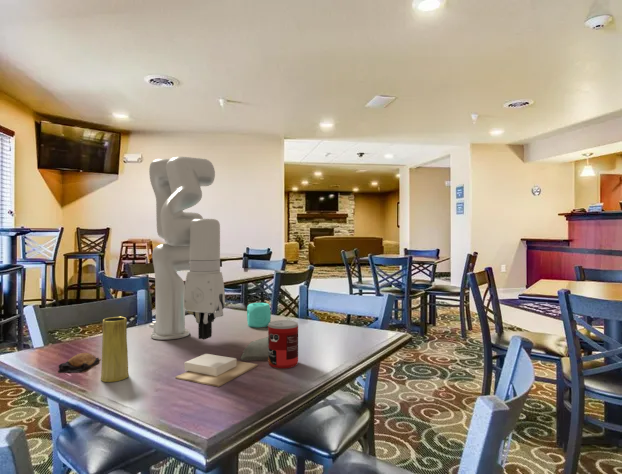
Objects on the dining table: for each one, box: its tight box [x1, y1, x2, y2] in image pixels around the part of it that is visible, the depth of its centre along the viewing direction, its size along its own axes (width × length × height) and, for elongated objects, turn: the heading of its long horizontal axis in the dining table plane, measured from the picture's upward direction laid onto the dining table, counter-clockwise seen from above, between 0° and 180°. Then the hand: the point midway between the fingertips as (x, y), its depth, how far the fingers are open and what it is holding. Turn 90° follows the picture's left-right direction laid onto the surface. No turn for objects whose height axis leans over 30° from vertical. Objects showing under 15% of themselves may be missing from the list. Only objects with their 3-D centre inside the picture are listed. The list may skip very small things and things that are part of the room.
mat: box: [175, 360, 258, 387], centre depth 100 cm, size 13×16×1 cm
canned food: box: [267, 319, 299, 369], centre depth 105 cm, size 8×8×11 cm
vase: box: [100, 316, 130, 383], centre depth 96 cm, size 6×6×14 cm
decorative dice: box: [246, 302, 272, 329], centre depth 151 cm, size 8×8×8 cm
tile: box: [184, 353, 237, 376], centre depth 101 cm, size 2×8×10 cm
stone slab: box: [240, 336, 268, 361], centre depth 120 cm, size 22×3×10 cm
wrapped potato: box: [57, 352, 102, 374], centre depth 104 cm, size 11×8×4 cm
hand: (205, 337), depth 102 cm, fingers closed
